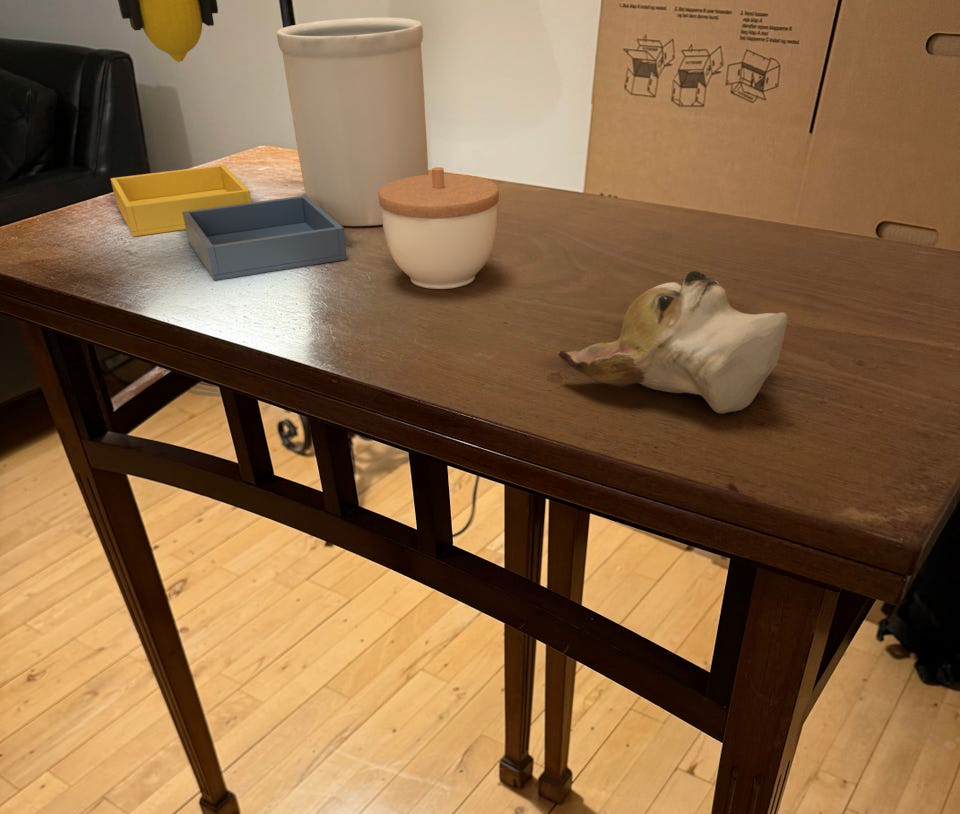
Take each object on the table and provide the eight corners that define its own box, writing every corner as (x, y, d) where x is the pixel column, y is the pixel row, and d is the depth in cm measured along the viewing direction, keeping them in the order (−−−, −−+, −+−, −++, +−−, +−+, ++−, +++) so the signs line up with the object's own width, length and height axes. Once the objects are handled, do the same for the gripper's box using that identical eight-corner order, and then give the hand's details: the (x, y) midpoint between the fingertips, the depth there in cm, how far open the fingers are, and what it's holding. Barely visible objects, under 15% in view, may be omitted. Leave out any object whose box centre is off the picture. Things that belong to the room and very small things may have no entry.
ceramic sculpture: (747, 312, 54) (551, 273, 62) (730, 447, 59) (552, 394, 67) (830, 267, 60) (641, 237, 68) (808, 394, 65) (635, 351, 73)
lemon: (218, 62, 83) (200, -47, 78) (159, 68, 81) (136, -44, 75) (198, 55, 86) (178, -50, 81) (140, 61, 84) (117, -47, 79)
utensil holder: (276, 222, 100) (247, 32, 89) (342, 188, 111) (323, 14, 99) (396, 235, 96) (381, 37, 84) (452, 198, 106) (446, 17, 95)
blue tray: (214, 280, 86) (207, 247, 84) (188, 242, 95) (182, 211, 93) (347, 259, 90) (343, 227, 88) (310, 224, 99) (306, 195, 97)
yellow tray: (133, 236, 97) (125, 206, 95) (117, 206, 106) (110, 178, 104) (254, 219, 101) (249, 190, 99) (229, 191, 110) (224, 164, 108)
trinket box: (362, 281, 85) (350, 171, 79) (439, 252, 91) (434, 148, 85) (446, 307, 80) (441, 191, 74) (522, 274, 86) (523, 165, 80)
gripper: (0, -264, 65) (75, 37, 77) (239, -257, 70) (276, 25, 82) (-2, -253, 70) (69, 27, 82) (220, -247, 75) (257, 16, 87)
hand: (172, 23), depth 82 cm, fingers closed on lemon, 5 cm apart
